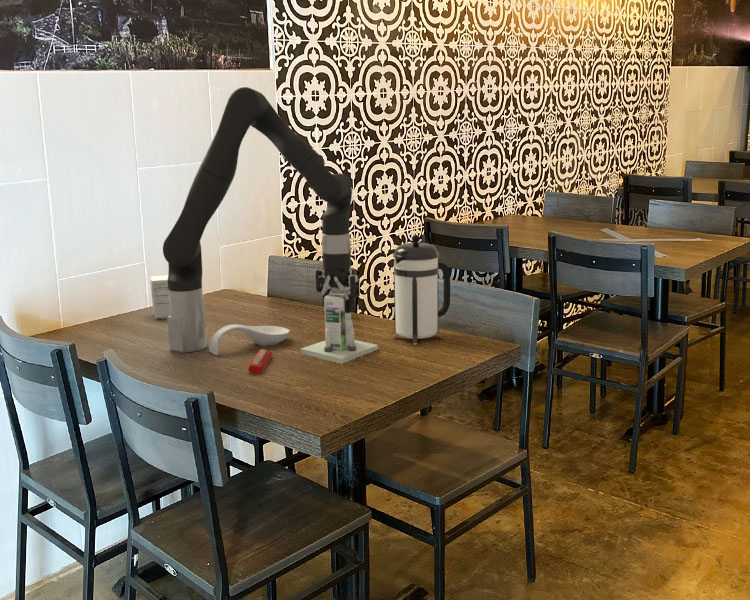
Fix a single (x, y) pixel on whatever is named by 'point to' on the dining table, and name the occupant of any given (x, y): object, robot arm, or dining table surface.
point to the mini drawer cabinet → (160, 296)
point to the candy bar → (260, 361)
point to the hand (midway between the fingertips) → (338, 310)
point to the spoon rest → (251, 335)
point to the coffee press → (418, 290)
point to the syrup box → (337, 320)
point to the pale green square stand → (339, 356)
